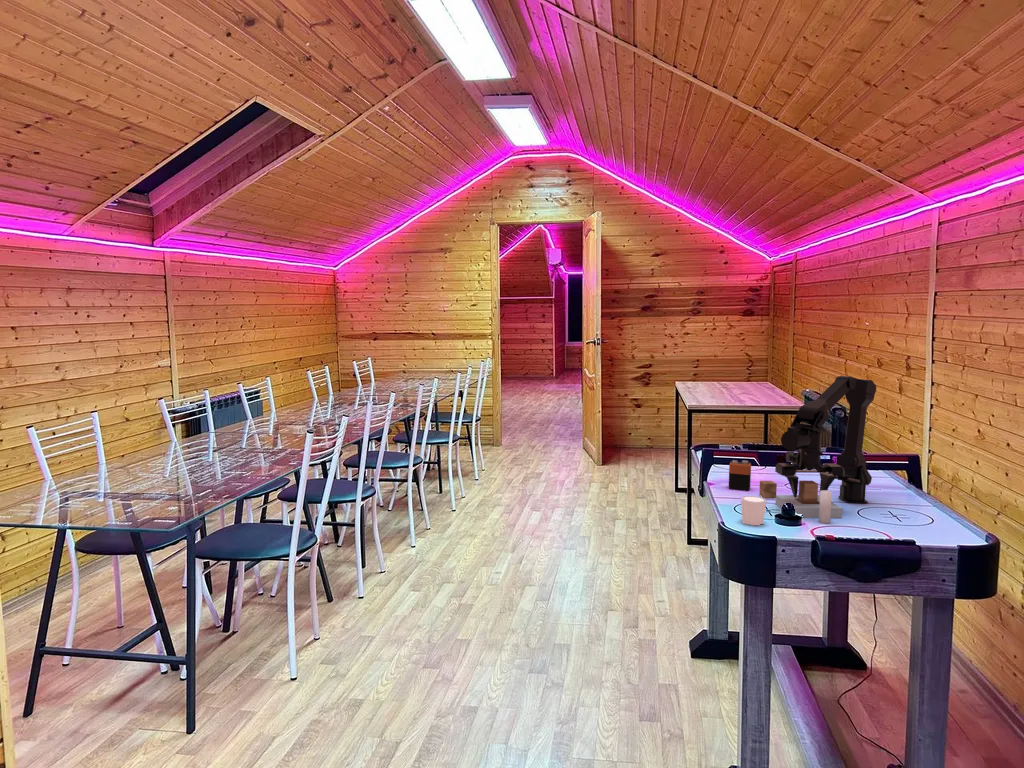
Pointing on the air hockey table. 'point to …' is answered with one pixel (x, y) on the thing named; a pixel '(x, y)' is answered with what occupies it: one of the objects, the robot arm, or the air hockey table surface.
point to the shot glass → (753, 510)
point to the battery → (739, 475)
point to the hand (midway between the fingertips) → (808, 497)
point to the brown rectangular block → (808, 492)
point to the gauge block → (813, 506)
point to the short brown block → (768, 489)
